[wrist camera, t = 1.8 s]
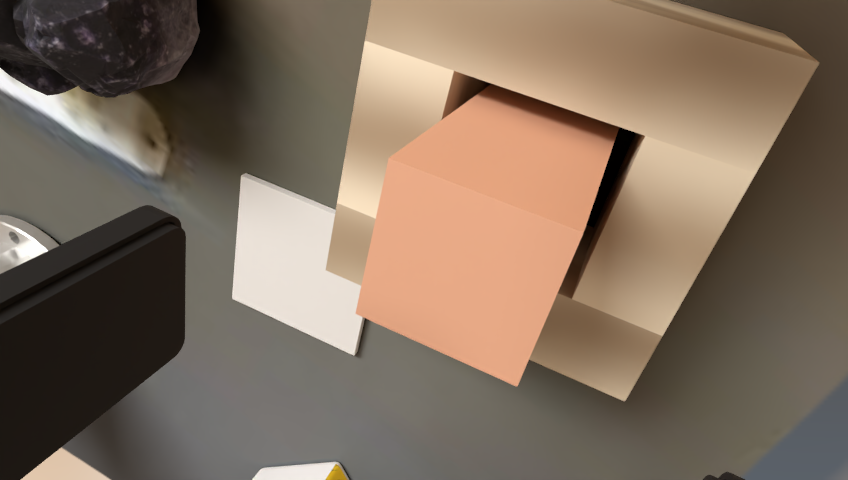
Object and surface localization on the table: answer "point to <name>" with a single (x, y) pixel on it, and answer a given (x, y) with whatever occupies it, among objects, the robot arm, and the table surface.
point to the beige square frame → (600, 99)
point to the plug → (483, 227)
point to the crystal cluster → (96, 43)
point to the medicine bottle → (304, 472)
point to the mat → (292, 264)
